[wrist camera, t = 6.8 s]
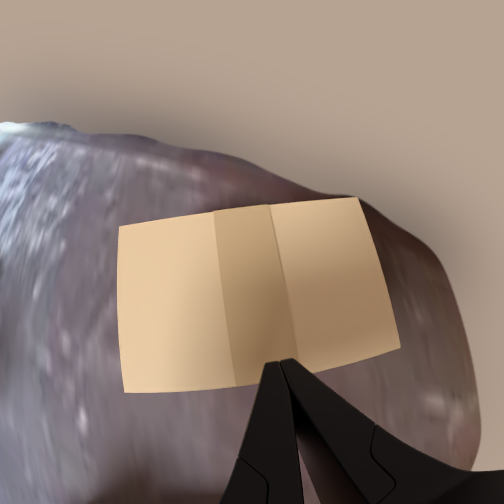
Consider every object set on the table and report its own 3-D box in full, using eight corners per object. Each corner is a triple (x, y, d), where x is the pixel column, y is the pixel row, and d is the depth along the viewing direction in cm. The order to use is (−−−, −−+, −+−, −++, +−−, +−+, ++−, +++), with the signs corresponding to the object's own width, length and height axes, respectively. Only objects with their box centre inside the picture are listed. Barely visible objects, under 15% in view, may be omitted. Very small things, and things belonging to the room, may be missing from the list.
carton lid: (395, 348, 13) (401, 347, 12) (129, 391, 11) (123, 392, 11) (354, 202, 16) (357, 196, 15) (123, 231, 15) (118, 225, 14)
